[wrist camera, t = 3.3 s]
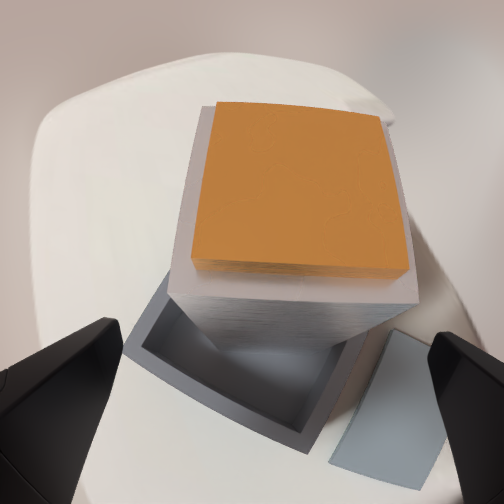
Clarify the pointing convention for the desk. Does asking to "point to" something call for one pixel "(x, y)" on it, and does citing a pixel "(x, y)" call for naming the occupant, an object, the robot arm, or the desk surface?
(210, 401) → the case
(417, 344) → the mat
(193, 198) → the block
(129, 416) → the desk surface
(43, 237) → the desk surface
